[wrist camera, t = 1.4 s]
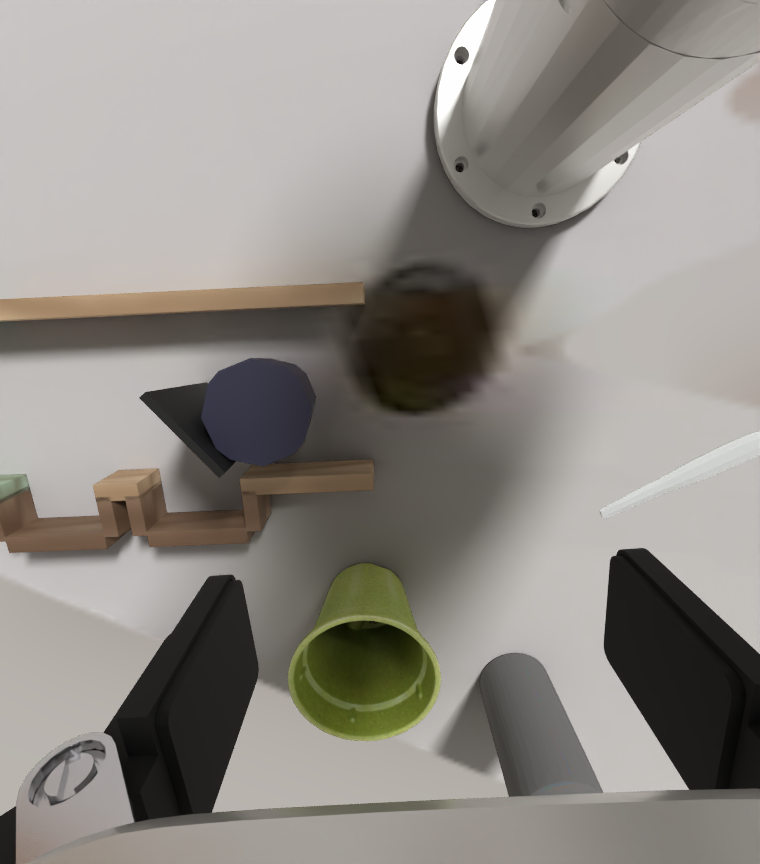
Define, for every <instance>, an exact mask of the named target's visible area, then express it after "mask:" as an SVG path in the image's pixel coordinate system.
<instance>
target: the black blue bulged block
mask: <svg viewBox="0 0 760 864" xmlns="http://www.w3.org/2000/svg"><path fill="white" fill-rule="evenodd" d="M315 398H316V396H315V393H314V391H313V389H312V387H311V384H310V382H309V380H308V377H307V375H306V373H305V372H304V371H302V370H301V369H300V368H299V367H298V366H297V365H294V364H290V363H286V362H282V361H278V360H274V359H263V358H250V359H248V360H245V361H243V362H240V363H238V364H235V365H233V366H231V367H228V368H226V369H223V370H221V371H218V373H217V374H216V375H215V376H214V378H213V379H212V380H211V381H210V382H209V384H208V383H207V382H206V383H200V384H193V385H187V386H181V387H175V388H169V389H162V390H156V391H150V392H145V393H144V394H143V395H142V396H141V397H140V399H141V400H142V401H143V402H144V403H145V404H146V405H147V406H148V407H149V408H150V409H151V410H152V411H153V412H154V413H155V414H156V415H157V416H158V417H159V418H160V419H161V420H162V421H163V422H164V423H165V424H166V425H167V426H168V427H169V428H170V429H171V430H172V431H173V432H174V433H175V434H176V435H177V436H178V437H179V438H180V439H181V440H182V441H183V442H184V443H185V444H186V445H187V446H188V447H189V448H190V449H191V450H192V451H193V452H194V453H195V454H196V455H197V456H198V457H199V458H200V459H201V460H202V461H203V462H204V463H205V464H206V465H207V466H208V467H209V468H210V469H211V470H212V471H213V472H214V473H215V474H216V475H217V476H218V477H219V478H220V477H221V476H222V475H223V474H224V473H225V472H226V471H227V470H228V469H229V468H230V467H231V466H232V465H233V464H234V463H235V462H236V461H239V462H244V463H249V464H254V465H258V466H263V467H264V466H266V465H268V464H271V463H273V462H275V461H278V460H280V459H282V458H285V457H287V456H290V455H292V454H294V453H295V452H296V451H297V450H298V448H299V447H300V446H301V445H302V444H303V442H304V441H305V438H306V435H307V431H308V427H309V424H310V420H311V416H312V411H313V407H314V403H315Z"/></svg>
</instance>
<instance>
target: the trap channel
mask: <svg viewBox="0 0 760 864" xmlns="http://www.w3.org/2000/svg"><path fill="white" fill-rule="evenodd" d="M344 305H365V289H364V284H363V282H355V283H334V284H313V285H292V286H271V287H250V288H229V289H208V290H188V291H167V292H146V293H125V294H104V295H83V296H62V297H42V298H21V299H0V322H5V321H26V320H48V319H69V318H90V317H111V316H132V315H153V314H174V313H196V312H217V311H238V310H259V309H280V308H301V307H322V306H344ZM240 487H241V494H242V501H243V508H244V510H224V511H200V512H176V513H167V511H166V505H165V500H164V495H163V489H162V484H161V478H160V473H159V469H136V470H118V471H116V472H115V473H113V474H111V475H110V476H108V477H106V478H104V479H103V480H101V481H99V482H98V483H96V484H94V485H93V489H94V493H95V498H96V502H97V506H98V511H99V515H100V516H81V517H57V518H38V517H37V514H36V510H35V506H34V503H33V499H32V495H31V492H30V488H29V484H28V481H27V477H26V474H19V475H0V542H3V541H6V543H7V547H8V550H9V553H17V552H42V551H66V550H91V549H108V548H109V547H110V546H111V545H112V544H114V543H115V542H116V541H117V540H118V539H120V538H121V537H122V536H123V535H124V534H125V533H127V532H128V531H129V530H130V529H132V534H133V536H147V537H148V542H149V547H164V546H189V545H213V544H238V543H249V541H250V539H251V538H252V536H253V534H254V532H255V531H261V530H262V528H263V526H264V524H265V523H266V521H267V519H268V517H269V516H270V514H271V504H270V496H269V494H291V493H315V492H339V491H362V490H374V463H373V459H368V460H345V461H322V462H298V463H275V464H268V465H266V466H264V467H263V466H258V465H254V464H252V465H251V466H250V468H249V469H248V470H247V471H246V472H245V473H244V474H243V476H242V477H241V478H240Z"/></svg>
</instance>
